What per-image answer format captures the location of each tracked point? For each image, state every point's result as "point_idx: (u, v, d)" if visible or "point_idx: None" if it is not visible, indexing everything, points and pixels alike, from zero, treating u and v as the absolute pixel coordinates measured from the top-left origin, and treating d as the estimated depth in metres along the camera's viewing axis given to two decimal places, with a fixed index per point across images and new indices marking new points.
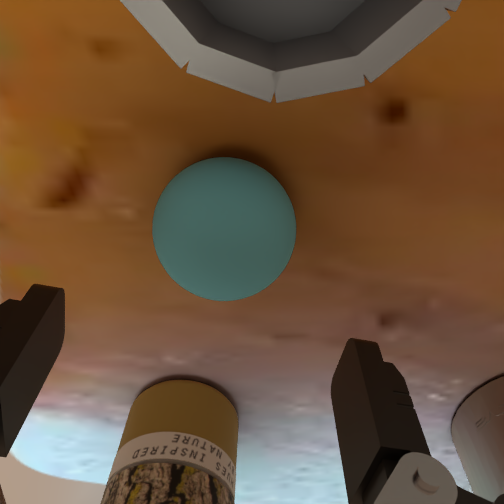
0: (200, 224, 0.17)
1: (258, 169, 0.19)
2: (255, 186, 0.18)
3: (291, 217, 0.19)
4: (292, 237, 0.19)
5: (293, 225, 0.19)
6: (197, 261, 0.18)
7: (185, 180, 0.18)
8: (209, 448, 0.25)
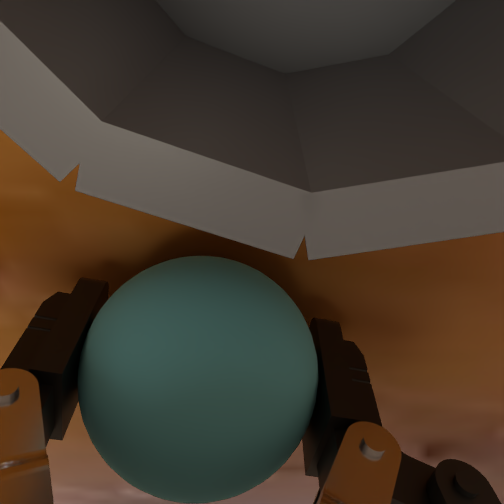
0: (150, 408, 0.09)
1: (257, 287, 0.11)
2: (252, 329, 0.10)
3: (312, 368, 0.11)
4: (313, 400, 0.11)
5: (315, 379, 0.11)
6: (147, 468, 0.10)
7: (128, 315, 0.10)
8: None
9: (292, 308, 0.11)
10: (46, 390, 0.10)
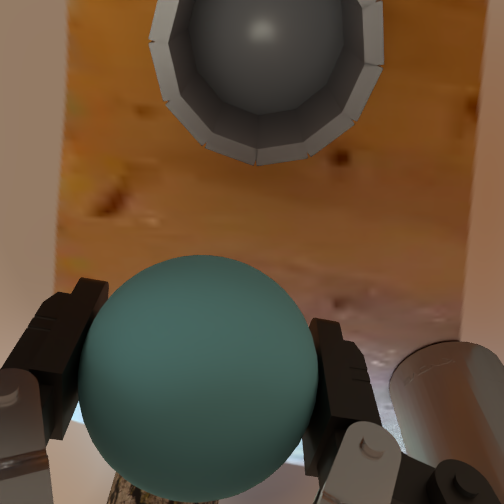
0: (150, 408, 0.09)
1: (257, 286, 0.11)
2: (252, 328, 0.10)
3: (312, 367, 0.11)
4: (313, 399, 0.11)
5: (315, 378, 0.11)
6: (147, 467, 0.10)
7: (128, 314, 0.10)
8: None
9: (292, 307, 0.11)
10: (46, 390, 0.10)
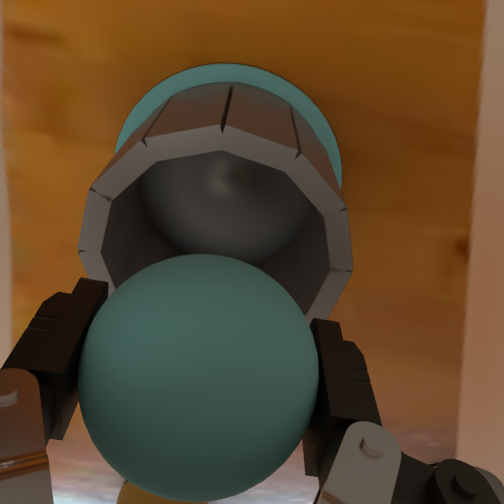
0: (151, 407, 0.09)
1: (257, 285, 0.11)
2: (252, 328, 0.10)
3: (313, 366, 0.11)
4: (314, 398, 0.11)
5: (316, 377, 0.11)
6: (147, 467, 0.10)
7: (129, 313, 0.10)
8: None
9: (293, 306, 0.11)
10: (46, 390, 0.10)
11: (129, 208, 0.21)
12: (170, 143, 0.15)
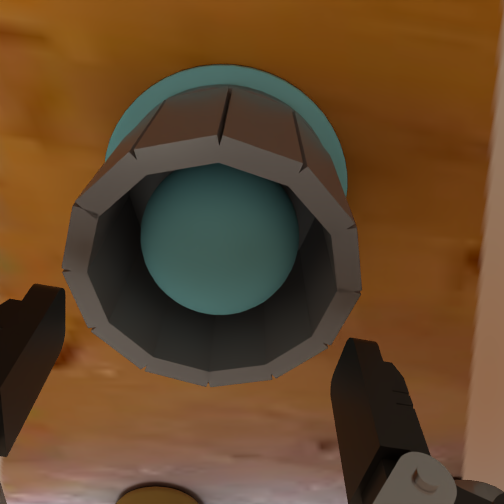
0: (193, 233, 0.15)
1: None
2: (255, 190, 0.16)
3: (294, 224, 0.17)
4: (295, 246, 0.17)
5: (296, 233, 0.17)
6: (190, 274, 0.16)
7: (177, 183, 0.16)
8: None
9: (281, 187, 0.17)
10: None
11: (120, 220, 0.19)
12: (162, 155, 0.14)
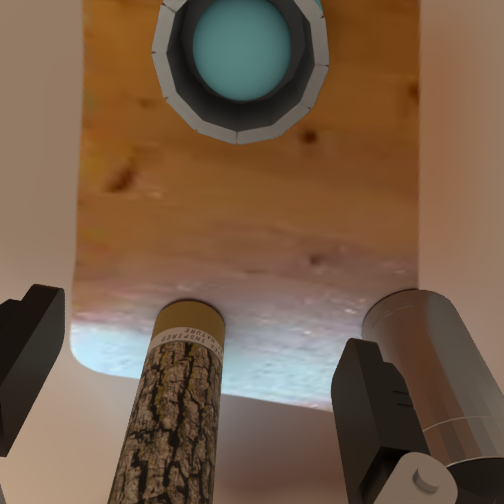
0: (228, 26, 0.26)
1: None
2: (264, 5, 0.27)
3: (288, 33, 0.28)
4: (289, 47, 0.28)
5: (290, 39, 0.28)
6: (226, 54, 0.26)
7: (217, 3, 0.27)
8: (207, 336, 0.41)
9: (280, 12, 0.28)
10: None
11: (177, 45, 0.30)
12: None
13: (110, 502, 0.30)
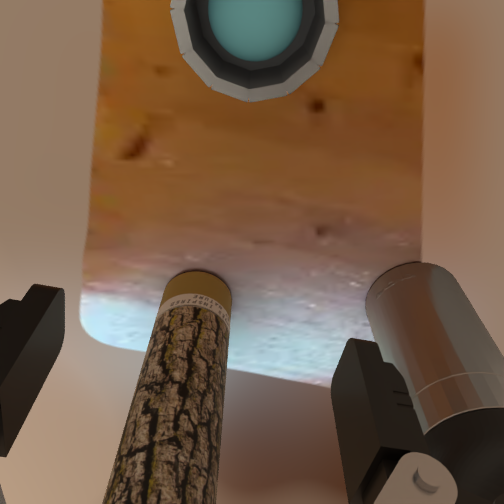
0: None
1: None
2: None
3: None
4: (300, 8, 0.29)
5: (301, 1, 0.29)
6: (240, 11, 0.28)
7: None
8: (215, 303, 0.42)
9: None
10: None
11: (193, 8, 0.31)
12: None
13: (121, 446, 0.31)
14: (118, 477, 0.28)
